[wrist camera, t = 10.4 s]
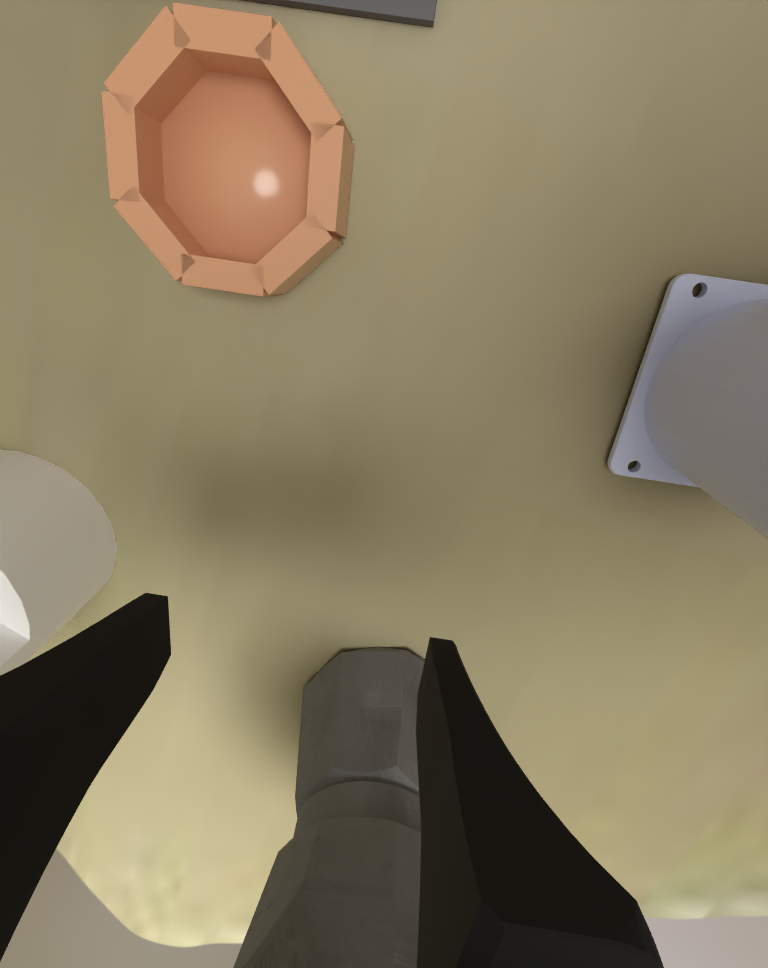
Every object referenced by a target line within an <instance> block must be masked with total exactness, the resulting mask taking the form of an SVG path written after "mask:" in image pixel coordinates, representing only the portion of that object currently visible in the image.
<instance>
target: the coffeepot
mask: <svg viewBox="0 0 768 968" xmlns="http://www.w3.org/2000/svg"><path fill="white" fill-rule="evenodd" d="M424 662H425V659H423V658H421V657H419V656H417V655H414V654H412V653H410V652H409V651H407V650H401V649H394V648H381V647H372V648H362V649H357V650H353V651H350V652H341V653H340V654H338V655H337V656H336V657H335V658H333V659H332V660H331V661H330V662H328V663H327V664H326V665H324V666H323V667H322V668H321V670H320V671H319V672H318V673H317V674H316V675H315V677H314V678H313V679H312V680H311V681H310V682H309V683H308V684H307V685H306V686H305V687H304V688H303V701H302V714H301V727H300V740H299V753H298V766H297V779H296V792H295V800H296V811H297V817H298V818H297V823H296V828H295V832H294V837H293V839H291V840H290V841H289V842H288V843H287V844H286V845H285V846H284V847H283V848H282V849H281V850H280V851H279V852H278V854H277V857H276V859H275V862H274V864H273V867H272V869H271V872H270V875H269V877H268V880H267V882H266V885H265V888H264V890H263V893H262V895H261V898H260V900H259V903H258V906H257V908H256V911H255V913H254V916H253V918H252V921H251V924H250V926H249V929H248V931H247V934H246V936H245V939H244V942H243V944H242V947H241V949H240V952H239V955H238V957H237V960H236V962H235V965H234V967H233V968H417V950H418V926H419V898H420V865H421V815H420V798H419V780H418V763H417V744H416V716H417V697H418V689H419V685H420V680H421V676H422V671H423V667H424Z"/></svg>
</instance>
